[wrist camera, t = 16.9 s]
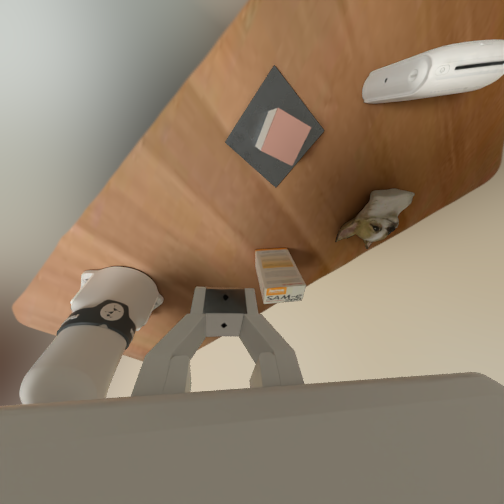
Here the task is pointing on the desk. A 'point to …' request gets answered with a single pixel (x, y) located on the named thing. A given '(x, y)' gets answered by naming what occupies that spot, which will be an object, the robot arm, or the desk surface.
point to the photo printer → (437, 72)
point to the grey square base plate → (251, 122)
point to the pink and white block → (282, 136)
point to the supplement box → (278, 276)
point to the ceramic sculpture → (377, 216)
